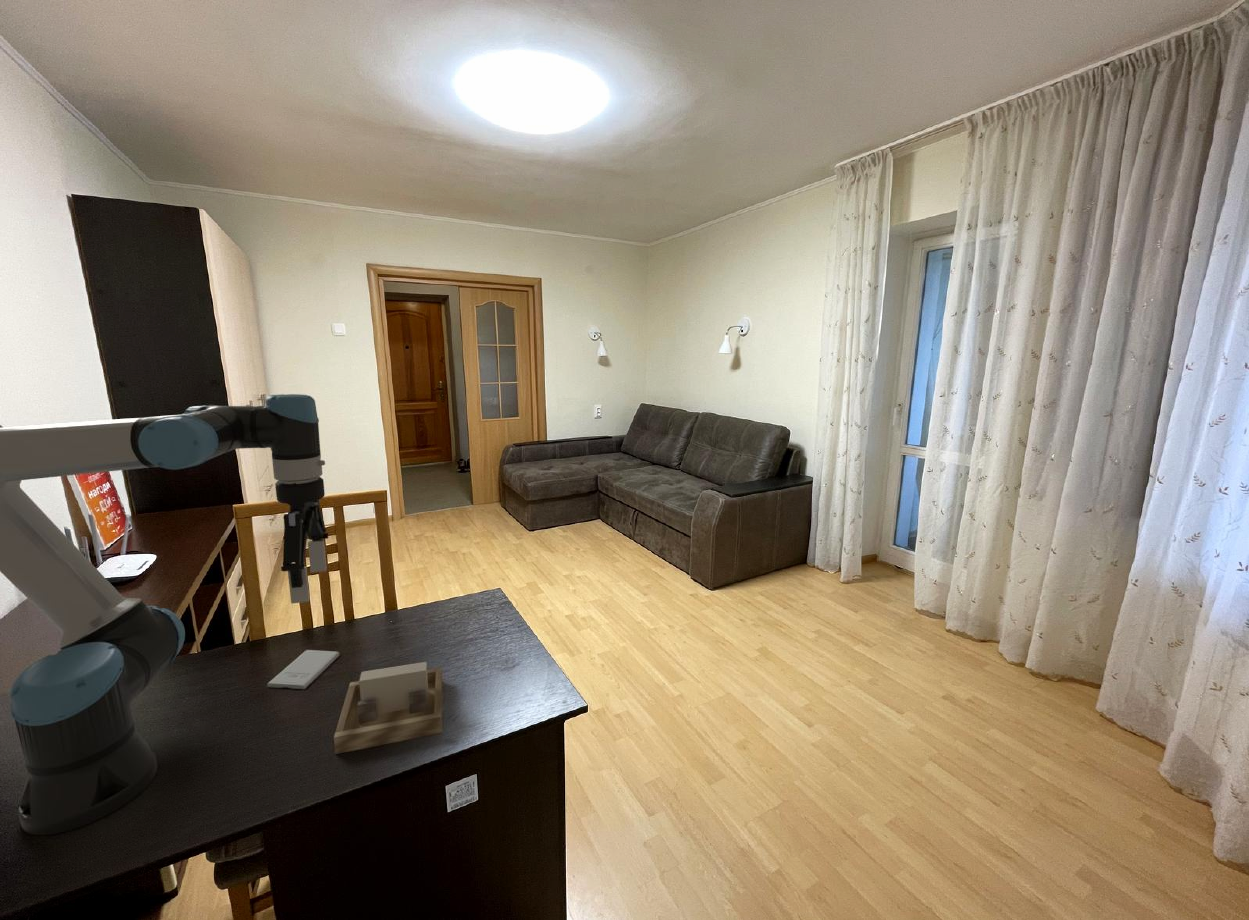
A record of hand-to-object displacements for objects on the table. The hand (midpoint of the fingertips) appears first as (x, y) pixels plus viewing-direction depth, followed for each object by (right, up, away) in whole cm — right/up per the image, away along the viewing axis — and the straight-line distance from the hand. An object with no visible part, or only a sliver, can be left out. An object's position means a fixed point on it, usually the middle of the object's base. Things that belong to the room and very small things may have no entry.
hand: (310, 585), depth 96 cm
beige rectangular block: (+14, -26, +5) cm, 30 cm away
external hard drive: (-12, -24, +17) cm, 32 cm away
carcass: (+15, -27, +4) cm, 31 cm away
